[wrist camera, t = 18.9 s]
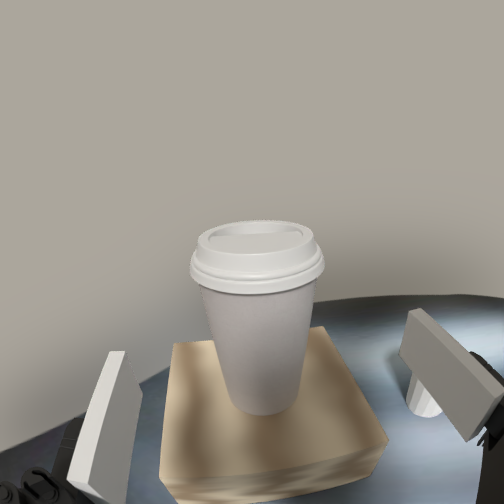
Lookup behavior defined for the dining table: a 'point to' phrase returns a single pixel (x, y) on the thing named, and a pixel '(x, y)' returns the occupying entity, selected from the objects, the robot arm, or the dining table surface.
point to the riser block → (264, 431)
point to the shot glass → (421, 399)
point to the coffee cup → (259, 307)
